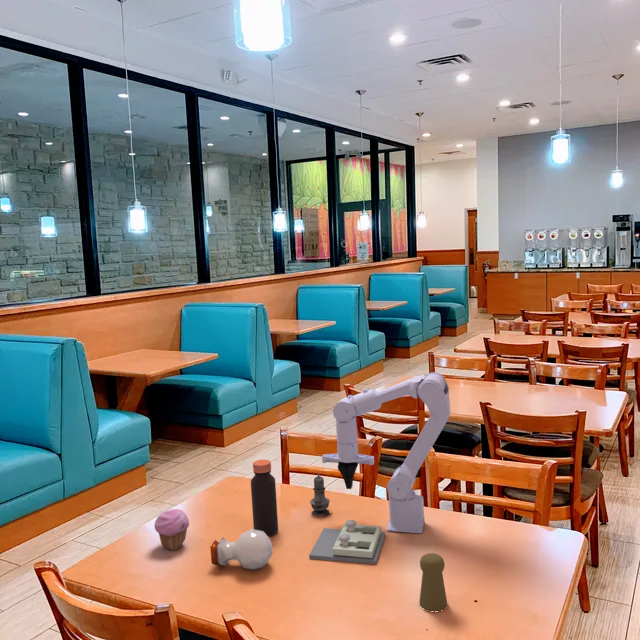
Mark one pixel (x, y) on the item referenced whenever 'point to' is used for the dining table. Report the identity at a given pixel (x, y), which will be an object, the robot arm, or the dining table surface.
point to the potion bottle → (243, 550)
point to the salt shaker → (319, 498)
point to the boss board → (330, 542)
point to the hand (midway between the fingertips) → (349, 487)
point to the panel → (358, 541)
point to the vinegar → (264, 498)
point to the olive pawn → (432, 583)
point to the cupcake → (172, 528)
